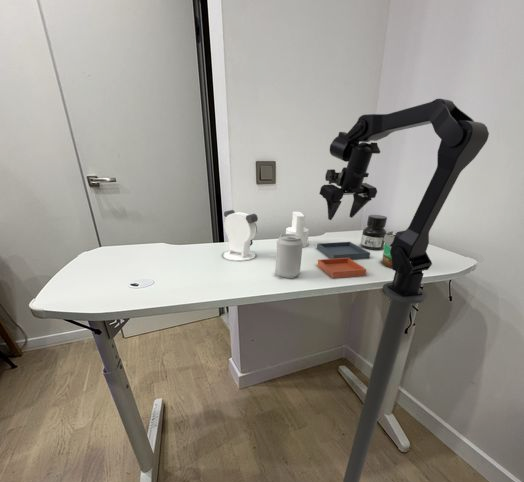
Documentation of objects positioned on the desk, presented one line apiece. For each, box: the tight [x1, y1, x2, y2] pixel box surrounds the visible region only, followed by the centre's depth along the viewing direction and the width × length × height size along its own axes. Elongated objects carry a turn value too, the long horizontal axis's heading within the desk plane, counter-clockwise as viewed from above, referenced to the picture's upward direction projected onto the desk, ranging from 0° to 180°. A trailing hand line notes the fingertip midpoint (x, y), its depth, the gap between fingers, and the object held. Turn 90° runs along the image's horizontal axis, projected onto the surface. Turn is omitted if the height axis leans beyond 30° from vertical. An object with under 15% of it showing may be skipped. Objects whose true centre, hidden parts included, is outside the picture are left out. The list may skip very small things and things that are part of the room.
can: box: [275, 233, 303, 279], centre depth 86 cm, size 8×8×12 cm
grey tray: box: [316, 241, 371, 260], centre depth 109 cm, size 14×14×2 cm
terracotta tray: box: [316, 258, 368, 279], centre depth 93 cm, size 11×11×2 cm
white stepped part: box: [285, 211, 310, 248], centre depth 115 cm, size 9×9×12 cm
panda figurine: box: [223, 209, 259, 262], centre depth 100 cm, size 12×11×15 cm
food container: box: [381, 231, 395, 269], centre depth 96 cm, size 12×6×10 cm, turn 17°
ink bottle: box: [360, 214, 388, 251], centre depth 114 cm, size 10×9×12 cm
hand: (340, 218), depth 93 cm, fingers open, 9 cm apart
